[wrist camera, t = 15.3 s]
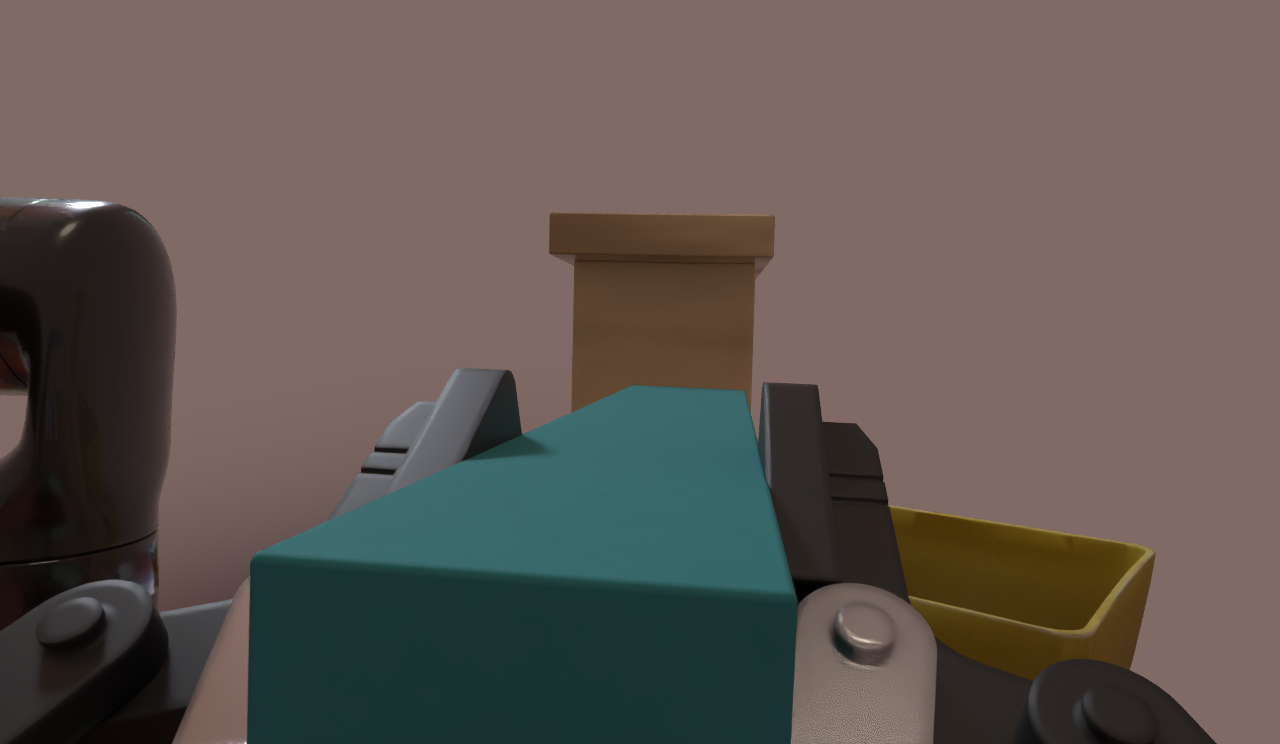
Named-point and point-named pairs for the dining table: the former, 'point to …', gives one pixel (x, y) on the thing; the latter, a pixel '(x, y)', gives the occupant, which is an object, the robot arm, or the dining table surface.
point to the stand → (661, 298)
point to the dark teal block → (543, 594)
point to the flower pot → (1023, 590)
